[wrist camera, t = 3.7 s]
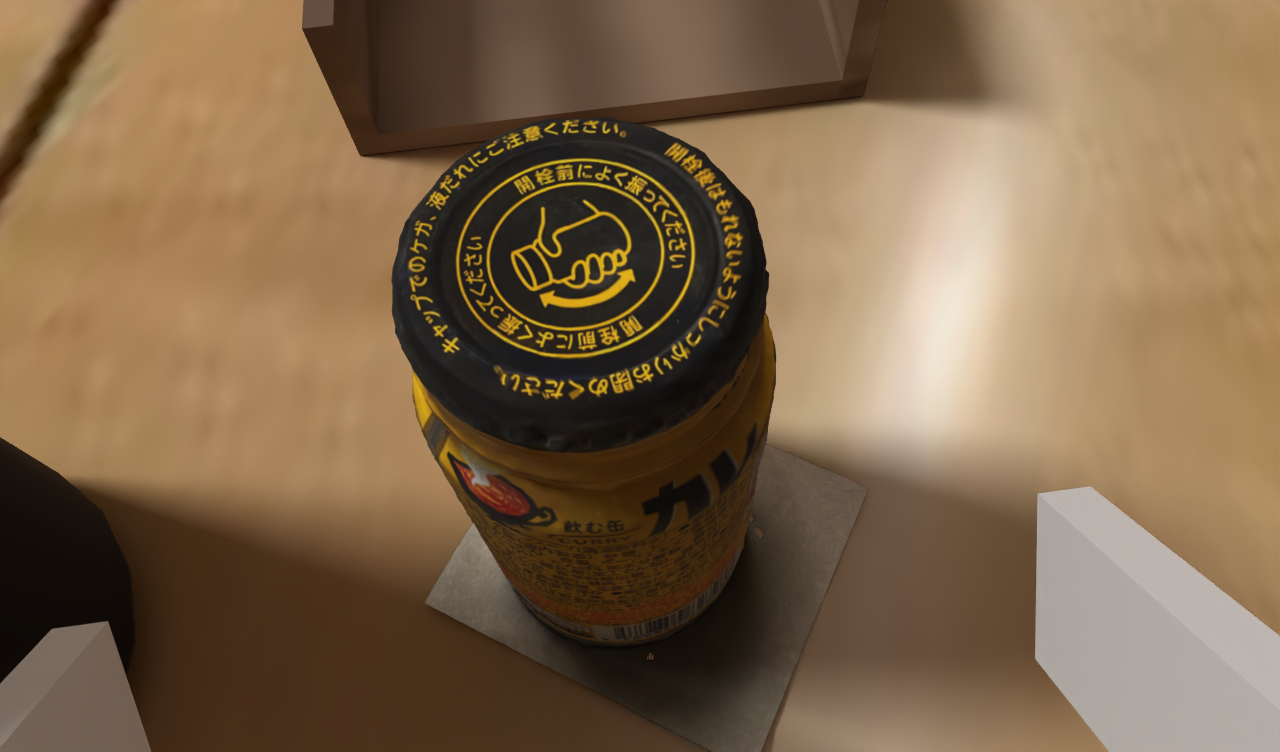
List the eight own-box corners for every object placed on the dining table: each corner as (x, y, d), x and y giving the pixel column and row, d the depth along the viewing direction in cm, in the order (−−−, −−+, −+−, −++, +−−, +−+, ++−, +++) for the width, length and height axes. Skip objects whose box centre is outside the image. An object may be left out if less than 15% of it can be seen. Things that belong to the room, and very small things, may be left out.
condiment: (569, 362, 26) (490, 8, 15) (867, 490, 24) (1024, 190, 13) (426, 605, 23) (200, 387, 12) (751, 774, 21) (828, 693, 10)
